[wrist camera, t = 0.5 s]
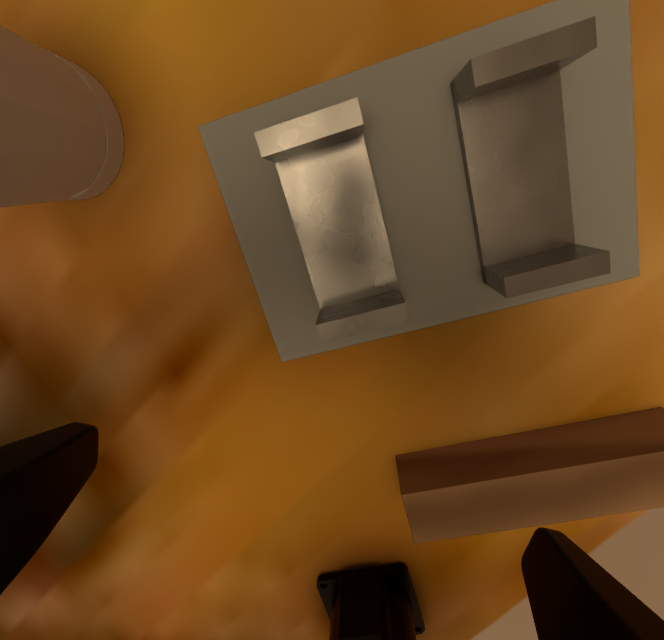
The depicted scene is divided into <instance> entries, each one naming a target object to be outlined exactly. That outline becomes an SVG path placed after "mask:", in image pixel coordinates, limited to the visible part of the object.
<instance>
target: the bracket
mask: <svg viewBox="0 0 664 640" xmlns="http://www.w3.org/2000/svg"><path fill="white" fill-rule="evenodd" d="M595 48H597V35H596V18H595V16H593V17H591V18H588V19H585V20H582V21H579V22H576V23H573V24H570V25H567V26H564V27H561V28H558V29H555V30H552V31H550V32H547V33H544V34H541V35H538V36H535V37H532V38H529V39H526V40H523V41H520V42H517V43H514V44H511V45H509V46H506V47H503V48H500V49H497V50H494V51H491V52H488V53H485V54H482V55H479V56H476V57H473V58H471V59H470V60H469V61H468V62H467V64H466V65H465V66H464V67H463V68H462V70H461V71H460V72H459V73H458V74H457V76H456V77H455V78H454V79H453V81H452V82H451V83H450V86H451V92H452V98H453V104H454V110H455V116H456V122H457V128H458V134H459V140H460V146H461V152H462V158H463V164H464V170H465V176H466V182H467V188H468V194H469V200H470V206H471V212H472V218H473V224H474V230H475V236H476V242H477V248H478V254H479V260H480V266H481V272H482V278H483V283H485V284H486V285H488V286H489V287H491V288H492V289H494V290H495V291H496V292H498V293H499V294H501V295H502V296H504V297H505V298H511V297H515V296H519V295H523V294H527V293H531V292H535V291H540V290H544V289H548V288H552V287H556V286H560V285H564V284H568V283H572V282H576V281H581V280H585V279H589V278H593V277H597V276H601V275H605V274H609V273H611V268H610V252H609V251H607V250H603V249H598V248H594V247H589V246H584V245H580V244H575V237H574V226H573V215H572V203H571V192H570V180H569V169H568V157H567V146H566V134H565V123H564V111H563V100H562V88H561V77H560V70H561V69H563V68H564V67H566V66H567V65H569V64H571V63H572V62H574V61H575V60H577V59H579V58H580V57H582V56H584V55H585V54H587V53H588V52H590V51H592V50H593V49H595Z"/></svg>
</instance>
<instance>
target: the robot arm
mask: <svg viewBox="0 0 664 640" xmlns="http://www.w3.org/2000/svg"><path fill="white" fill-rule="evenodd" d="M98 441H99V432H98V428H97V427H96V426H94V425H90V424H86V423H81V422H73V423H70V424H67V425H64V426H61V427H58V428H55V429H51V430H48V431H45V432H42V433H39V434H36V435H33V436H30V437H27V438H24V439H21V440H18V441H15V442H12V443H9V444H6V445H3V446H0V595H1V594H2V592H3V591H4V590H5V589H6V588H7V586H8V585H9V584H10V583H11V582H12V580H13V579H14V578H15V577H16V576H17V574H18V573H19V572H20V571H21V570H22V569H23V567H24V566H25V565H26V564H27V563H28V561H29V560H30V559H31V558H32V556H33V555H34V554H35V553H36V552H37V550H38V549H39V548H40V547H41V545H42V544H43V543H44V541H45V540H46V538H47V537H48V536H49V534H50V533H51V532H52V530H53V529H54V527H55V526H56V524H57V523H58V522H59V520H60V519H61V517H62V516H63V514H64V513H65V512H66V510H67V509H68V507H69V506H70V505H71V503H72V502H73V500H74V499H75V497H76V496H77V495H78V493H79V492H80V490H81V489H82V487H83V486H84V485H85V483H86V482H87V480H88V479H89V477H90V476H91V475H92V473H93V472H94V470H95V468H96V465H97V462H98ZM521 566H522V573H523V577H524V581H525V585H526V589H527V594H528V598H529V602H530V606H531V610H532V614H533V618H534V623H535V627H536V631H537V635H538V639H539V640H664V621H663V620H662V619H661V618H660V617H659V616H658V615H657V614H656V613H654V612H653V611H652V610H651V609H649V608H648V607H647V606H646V605H645V604H644V603H643V602H642V601H640V600H639V599H638V598H637V597H636V596H635V595H634V594H632V593H631V592H630V591H629V590H628V589H627V588H625V587H624V586H623V585H622V584H621V583H620V582H618V581H617V580H616V579H615V578H614V577H613V576H612V575H610V574H609V573H608V572H607V571H606V570H605V569H604V568H602V567H601V566H600V565H599V564H598V563H596V562H595V561H594V560H593V559H592V558H591V557H590V556H589V555H587V554H586V553H585V552H584V551H583V550H582V549H580V548H579V547H578V546H577V545H576V544H575V543H573V542H572V541H571V540H570V539H569V538H568V537H567V536H565V535H564V534H563V533H561V532H559V531H556V530H552V529H548V528H543V527H541V528H538V529H536V530H535V532H534V534H533V536H532V538H531V540H530V542H529V544H528V546H527V548H526V550H525V552H524V554H523V556H522V562H521ZM317 589H318V591H319V593H320V596H321V598H322V601H323V603H324V606H325V608H326V611H327V613H328V616H329V618H330V620H331V621H330V637H329V640H416V634H422V633H423V632H424V631H425V626H424V621H423V618H422V615H421V611H420V608H419V605H418V601H417V598H416V595H415V591H414V588H413V585H412V581H411V578H410V575H409V571H408V568H407V566H405V565H403V564H395V565H389V566H382V567H375V568H368V569H361V570H355V571H348V572H341V573H334V574H327V575H321V576H319V577H318V579H317Z"/></svg>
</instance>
